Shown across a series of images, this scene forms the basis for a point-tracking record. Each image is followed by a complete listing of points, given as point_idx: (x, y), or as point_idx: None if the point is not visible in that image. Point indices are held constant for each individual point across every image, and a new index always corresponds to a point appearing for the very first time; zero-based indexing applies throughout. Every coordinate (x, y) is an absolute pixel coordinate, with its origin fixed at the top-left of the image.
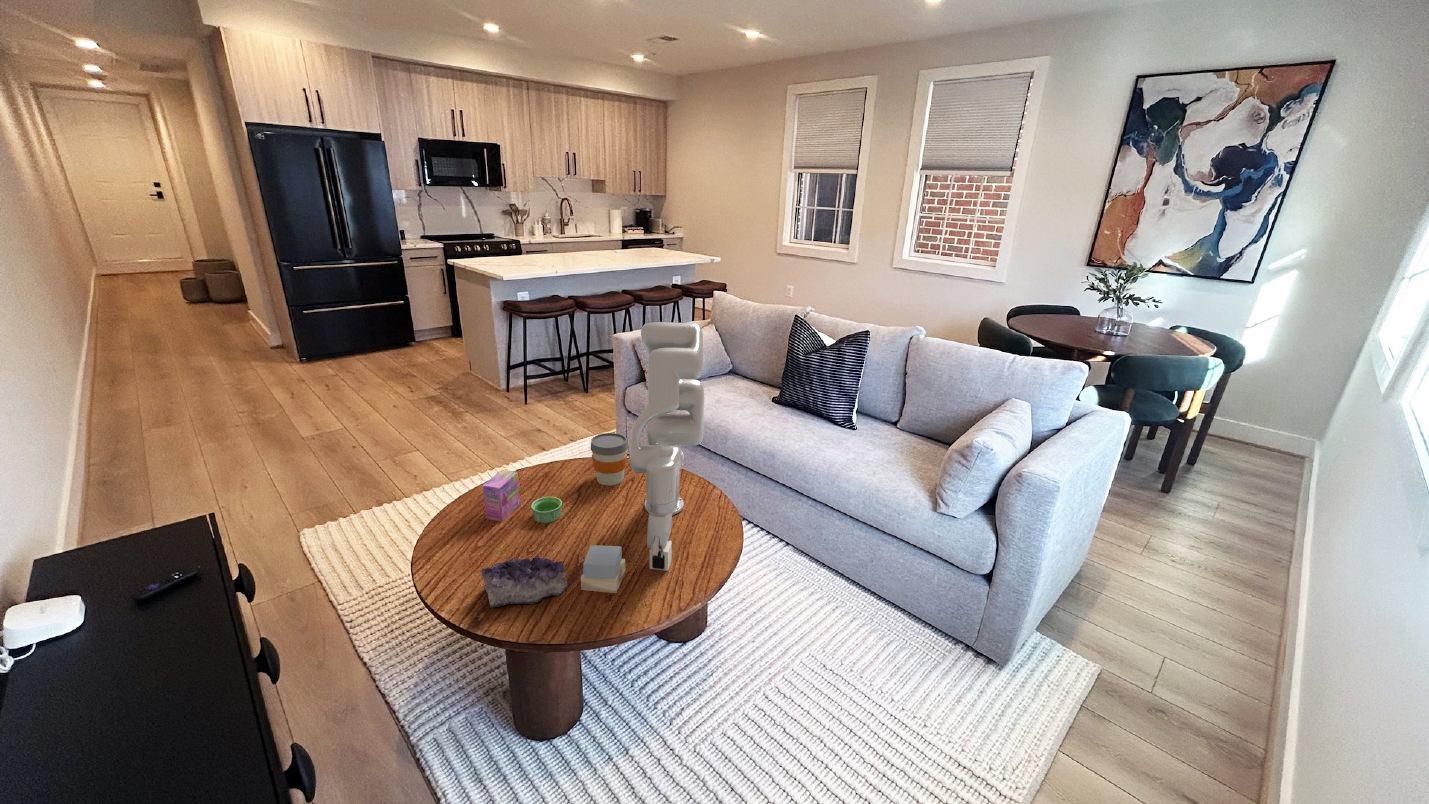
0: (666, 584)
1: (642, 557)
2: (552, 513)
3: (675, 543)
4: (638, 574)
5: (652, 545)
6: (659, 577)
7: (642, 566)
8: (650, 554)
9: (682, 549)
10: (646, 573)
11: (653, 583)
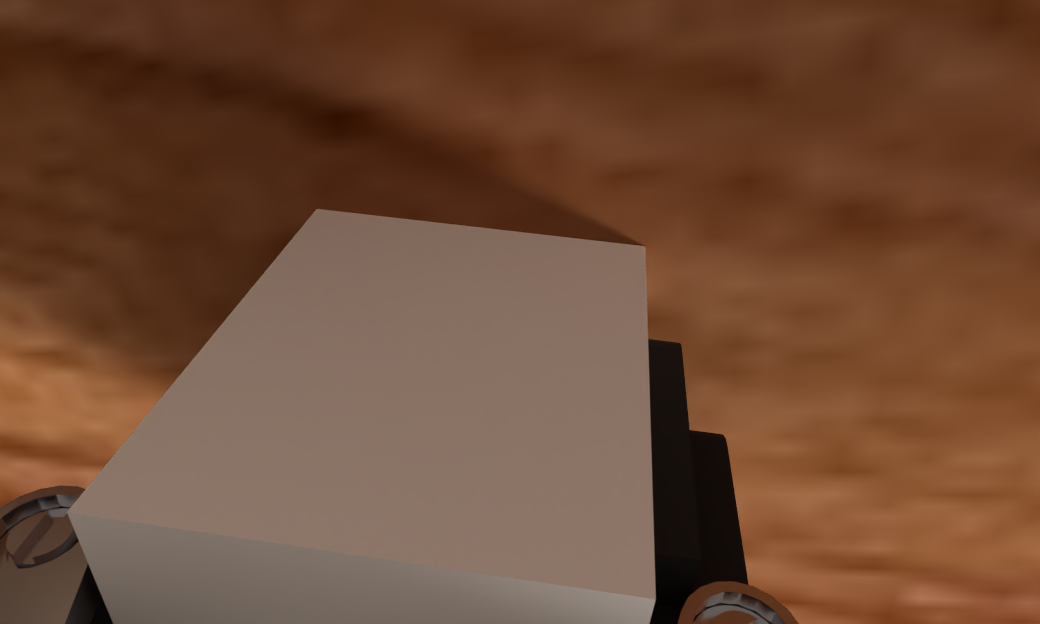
0: (79, 436)
1: (638, 28)
2: None
3: (1022, 529)
4: (104, 31)
5: (305, 574)
6: (170, 358)
7: (347, 73)
8: (161, 425)
9: (837, 595)
10: (184, 171)
11: (18, 293)
